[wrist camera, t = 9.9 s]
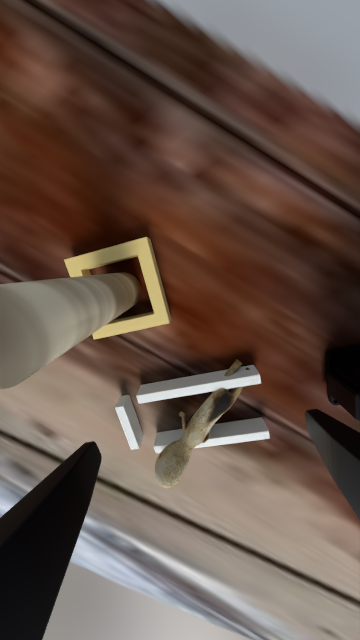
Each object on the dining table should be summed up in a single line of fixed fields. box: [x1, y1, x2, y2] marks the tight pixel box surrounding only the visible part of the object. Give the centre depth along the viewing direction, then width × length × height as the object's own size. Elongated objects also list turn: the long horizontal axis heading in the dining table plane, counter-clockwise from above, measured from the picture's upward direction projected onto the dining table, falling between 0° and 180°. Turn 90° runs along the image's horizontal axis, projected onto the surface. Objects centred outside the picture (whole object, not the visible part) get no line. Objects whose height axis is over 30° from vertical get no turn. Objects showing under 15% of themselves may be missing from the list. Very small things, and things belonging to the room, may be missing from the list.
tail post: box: [0, 272, 142, 389], centre depth 13 cm, size 4×4×14 cm
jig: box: [64, 237, 270, 453], centre depth 20 cm, size 16×23×2 cm
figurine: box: [155, 359, 250, 488], centre depth 21 cm, size 4×4×15 cm
